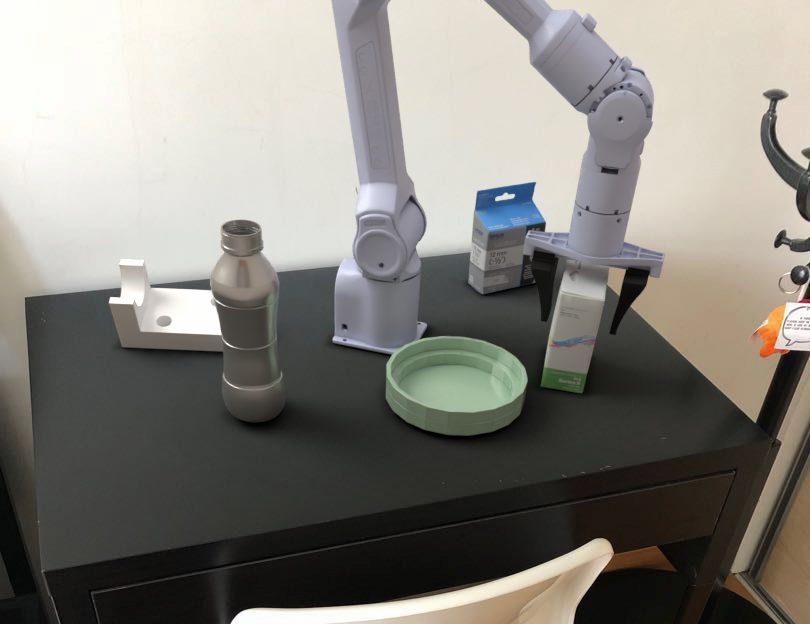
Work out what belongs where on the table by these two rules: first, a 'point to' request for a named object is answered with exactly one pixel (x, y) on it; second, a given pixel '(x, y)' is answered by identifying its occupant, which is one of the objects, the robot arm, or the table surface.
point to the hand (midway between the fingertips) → (579, 324)
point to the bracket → (163, 314)
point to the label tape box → (503, 238)
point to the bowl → (455, 385)
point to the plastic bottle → (248, 324)
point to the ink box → (574, 325)
